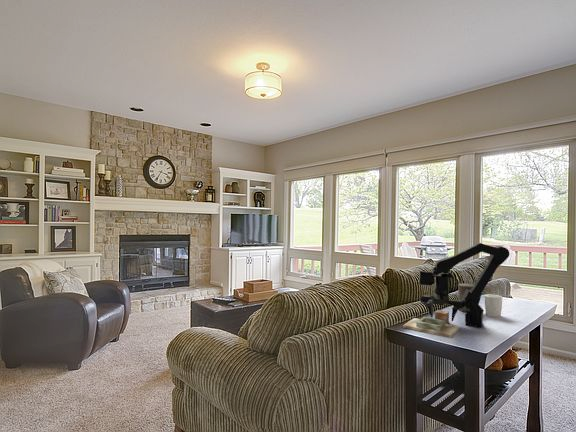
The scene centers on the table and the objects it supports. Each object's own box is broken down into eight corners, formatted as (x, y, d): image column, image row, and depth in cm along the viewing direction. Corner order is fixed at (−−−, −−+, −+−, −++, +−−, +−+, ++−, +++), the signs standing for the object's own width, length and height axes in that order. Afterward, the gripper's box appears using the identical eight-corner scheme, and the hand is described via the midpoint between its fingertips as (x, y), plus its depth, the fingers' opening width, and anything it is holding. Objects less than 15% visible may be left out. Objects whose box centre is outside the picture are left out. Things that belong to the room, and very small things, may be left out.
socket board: (459, 329, 157) (459, 322, 157) (450, 337, 146) (451, 329, 146) (414, 320, 169) (414, 313, 169) (403, 327, 158) (403, 320, 158)
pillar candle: (481, 313, 182) (481, 284, 183) (460, 312, 184) (461, 283, 184) (475, 308, 192) (475, 281, 192) (455, 307, 194) (456, 280, 194)
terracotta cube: (448, 322, 168) (448, 311, 168) (445, 324, 164) (446, 313, 164) (437, 320, 171) (437, 309, 171) (434, 322, 167) (434, 312, 167)
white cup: (480, 314, 181) (480, 294, 181) (491, 312, 184) (492, 293, 184) (494, 318, 174) (494, 298, 174) (506, 316, 177) (506, 296, 177)
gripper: (416, 286, 167) (416, 319, 167) (459, 292, 155) (459, 327, 155) (424, 283, 175) (423, 314, 175) (465, 288, 164) (465, 321, 164)
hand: (441, 319), depth 167 cm, fingers open, 9 cm apart
